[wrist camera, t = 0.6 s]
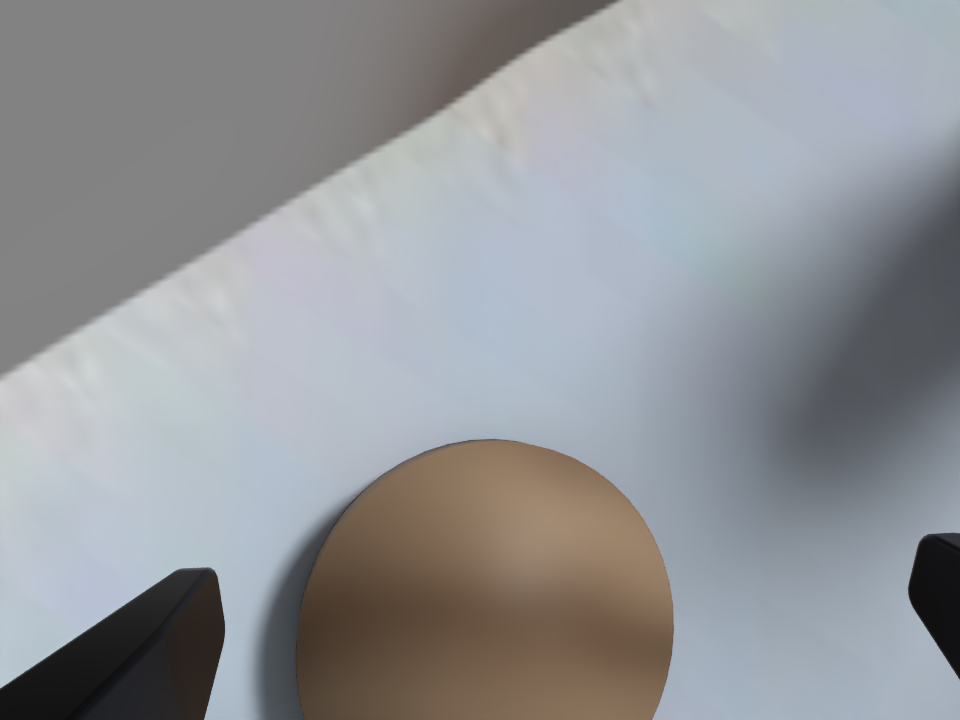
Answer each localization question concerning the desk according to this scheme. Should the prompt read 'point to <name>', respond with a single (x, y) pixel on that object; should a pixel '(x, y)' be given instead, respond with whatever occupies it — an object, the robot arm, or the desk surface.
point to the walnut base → (486, 595)
